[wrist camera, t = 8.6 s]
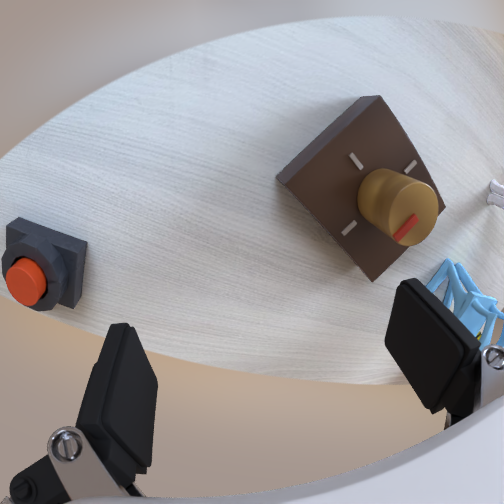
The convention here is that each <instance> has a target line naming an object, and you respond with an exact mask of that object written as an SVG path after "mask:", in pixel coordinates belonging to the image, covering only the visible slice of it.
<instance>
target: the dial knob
mask: <svg viewBox="0 0 504 504" xmlns="http://www.w3.org/2000/svg"><path fill="white" fill-rule="evenodd" d="M357 202H358V208H359V211H360V213H361V214H362V216H363V217H364V218H365V219H366V220H368V221H369V222H370V223H372V224H373V225H374V226H376V227H377V228H378V229H380V230H381V231H382V232H384V233H385V234H386V235H388V236H389V237H390V238H391V239H393V240H394V241H395V242H397V243H398V244H400V245H403V246H413V245H416V244H418V243H420V242H422V241H423V240H424V239H425V238H426V237H427V236H428V235H429V234H430V232H431V231H432V229H433V228H434V225H435V223H436V220H437V216H438V200H437V196H436V194H435V192H434V191H433V189H432V188H431V187H430V186H429V185H427V184H426V183H423V182H421V181H418V180H416V179H413V178H411V177H408V176H406V175H403V174H400V173H398V172H395V171H392V170H389V169H377V170H375V171H373V172H371V173H369V174H368V175H367V176H366V177H365V178H364V180H363V181H362V183H361V185H360V187H359V190H358V196H357Z"/></svg>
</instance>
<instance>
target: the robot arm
mask: <svg viewBox="0 0 504 504" xmlns="http://www.w3.org/2000/svg"><path fill="white" fill-rule="evenodd" d="M385 346H386V348H387V349H388V351H389V352H390V354H391V355H392V357H393V358H394V360H395V361H396V363H397V364H398V366H399V367H400V369H401V371H402V372H403V374H404V375H405V377H406V378H407V380H408V381H409V383H410V385H411V386H412V388H413V389H414V391H415V392H416V394H417V396H418V397H419V399H420V400H421V402H422V404H423V405H424V407H425V408H427V409H430V411H431V413H432V414H434V413H436V412H438V411H440V410H442V409H443V408H444V407H445V408H446V410H447V416H446V422H445V427H444V431H442V432H440V433H438V434H436V435H435V436H433V437H431V438H429V439H427V440H425V441H423V442H421V443H419V444H416V445H414V446H412V447H410V448H408V449H406V450H404V451H401V452H399V453H397V454H394V455H392V456H389V457H387V458H385V459H382V460H379V461H377V462H374V463H372V464H369V465H366V466H363V467H360V468H358V469H355V470H352V471H348V472H345V473H342V474H339V475H336V476H332V477H328V478H325V479H321V480H317V481H313V482H309V483H305V484H300V485H296V486H291V487H286V488H282V489H275V490H270V491H263V492H256V493H249V494H241V495H231V496H218V497H197V498H159V497H146V496H145V494H144V493H143V492H142V491H141V490H140V489H139V487H138V486H137V485H136V484H135V482H134V481H135V476H136V474H146V473H147V467H150V466H151V462H152V446H153V433H154V432H153V431H154V420H155V410H156V398H157V390H158V382H157V378H156V376H155V374H154V371H153V369H152V367H151V365H150V363H149V361H148V359H147V356H146V354H145V352H144V349H143V347H142V344H141V342H140V340H139V337H138V335H137V332H136V330H135V328H134V327H130V326H129V324H128V323H117V324H111V326H110V328H109V330H108V333H107V336H106V338H105V341H104V344H103V347H102V350H101V353H100V355H99V358H98V361H97V363H95V364H94V366H93V369H92V372H91V375H90V378H89V381H88V384H87V387H86V390H85V394H84V397H83V400H82V404H81V408H80V411H79V415H78V418H77V422H76V426H75V427H71V426H67V427H62V428H59V429H57V430H56V431H55V432H54V433H53V434H52V435H51V436H50V438H49V441H48V444H47V451H48V455H46V456H45V457H43V458H42V459H40V460H39V461H37V462H35V463H34V464H32V465H31V466H30V467H28V468H26V469H25V470H23V471H21V472H20V473H18V474H17V475H16V476H15V477H14V478H13V479H12V481H11V483H10V495H11V497H10V498H9V497H7V496H6V497H5V498H4V500H3V501H2V502H1V503H0V504H504V348H503V347H502V346H499V345H496V344H491V345H487V346H485V347H484V348H483V350H482V352H481V351H480V349H479V348H480V346H481V343H480V341H479V340H478V339H477V338H476V337H475V336H474V335H473V334H472V333H471V332H470V331H469V330H468V328H467V327H466V326H465V325H464V324H463V323H462V322H461V321H460V320H459V319H458V318H457V317H456V316H455V315H454V314H453V313H452V312H451V311H450V310H449V309H448V308H447V307H446V306H445V305H444V304H443V303H442V302H441V301H440V300H439V299H438V298H437V297H436V296H435V295H434V294H433V293H432V292H431V291H430V290H429V289H428V288H426V287H425V286H424V285H423V284H422V283H421V282H420V281H419V280H418V279H416V278H412V279H407V280H403V281H401V283H400V285H399V286H398V287H397V289H396V294H395V299H394V303H393V308H392V312H391V316H390V320H389V324H388V328H387V332H386V336H385Z"/></svg>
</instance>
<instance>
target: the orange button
mask: <svg viewBox="0 0 504 504" xmlns="http://www.w3.org/2000/svg"><path fill="white" fill-rule="evenodd" d="M6 284H7V287H8V290H9V291H10V293H11V295H12V296H13V297H14V298H15V299H16V300H17V301H18V302H19V303H21V304H23V305H26V306H32V305H34V304H36V303H37V301H38V300H39V299H40V297H41V296H42V295H43V293H44V292H45V290H46V287H47V279H46V276H45V273H44V271H43V270H42V268H41V267H40V266H39V265H38V264H37V263H36V262H35V261H34V260H32V259H30V258H21V259H19V260H18V261H17V262H16V263H15V264H14V265H13V266H12V267H11V268H10V269H9V270H8V271H7V274H6Z"/></svg>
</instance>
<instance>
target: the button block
mask: <svg viewBox="0 0 504 504" xmlns="http://www.w3.org/2000/svg"><path fill="white" fill-rule="evenodd" d="M86 248H87V242H86V241H83V240H80V239H77V238H74V237H72V236H69V235H66V234H63V233H60V232H58V231H55V230H52V229H49V228H47V227H44V226H41V225H38V224H36V223H33V222H30V221H28V220H25V219H22V218H20V217H18V218H17V219H15V220H14V221H12V222H11V223H9V224H8V225H7V226H6V251H5V252H4V254H3V256H2V274H3V277H4V279H5V281H6V274H7V271H8V270H9V269H10V268H11V267H12V266H13V265H14V264H15V263H16V262H17V261H18V260H19V259H21V258H30V259H32V260H34V261H35V262H36V263H37V264H38V265H39V266H40V267H41V268H42V270H43V271H44V273H45V276H46V279H47V287H46V290H45V292H44V293H43V295H42V296H41V297H40V299H39V300H38V301H37V303H36V304H34V305H32V306H27V307H29V308H31V309H33V310H36V311H46V310H52V309H53V307H54V306H55V305H56V304H57V303H59V304H61V305H64V306H66V307H69V308H72V309H74V308H75V306H76V304H77V303H78V301H79V299H80V298H81V294H82V282H83V272H84V263H85V255H86ZM24 306H26V305H24Z"/></svg>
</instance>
